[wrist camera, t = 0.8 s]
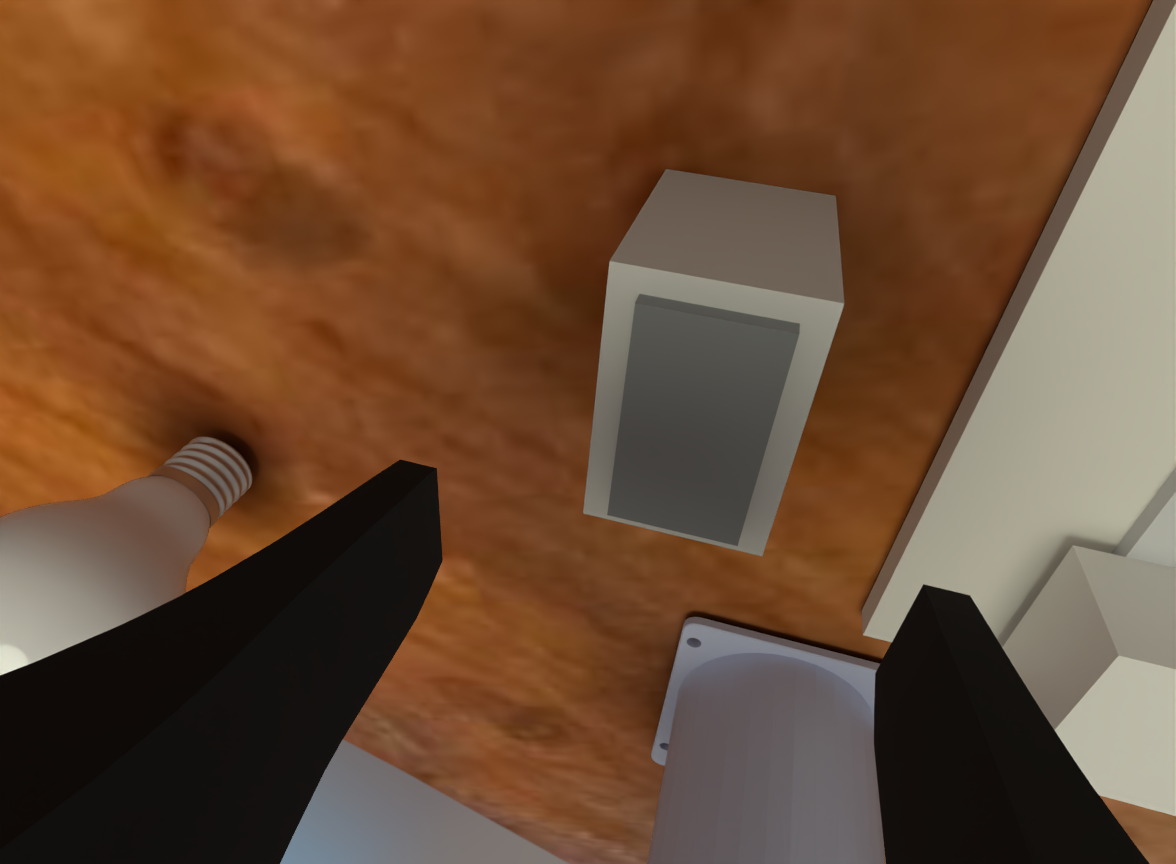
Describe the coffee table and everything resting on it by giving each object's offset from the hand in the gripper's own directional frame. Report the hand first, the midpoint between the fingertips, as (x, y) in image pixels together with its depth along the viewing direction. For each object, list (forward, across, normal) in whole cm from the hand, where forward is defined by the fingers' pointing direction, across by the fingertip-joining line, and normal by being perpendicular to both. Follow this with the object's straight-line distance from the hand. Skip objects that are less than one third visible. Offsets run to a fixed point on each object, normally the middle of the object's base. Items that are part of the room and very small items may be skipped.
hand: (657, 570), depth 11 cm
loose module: (+10, 0, 0) cm, 10 cm away
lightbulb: (+10, +17, +10) cm, 22 cm away
